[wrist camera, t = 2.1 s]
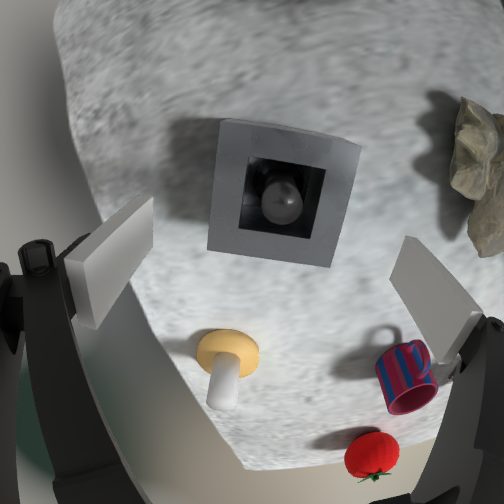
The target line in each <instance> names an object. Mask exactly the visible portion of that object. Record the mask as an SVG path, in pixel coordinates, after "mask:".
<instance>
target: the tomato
mask: <svg viewBox="0 0 504 504" xmlns="http://www.w3.org/2000/svg"><path fill="white" fill-rule="evenodd" d="M398 458H399V445H398V442H397V441H396V440H395V439H394V438H393V437H392V436H391V435H389V434H387V433H383V432H371V433H367V434H364V435H362V436H360V437H359V438H357V439H356V440H354V441H353V442H352V443H351V444H350V446H349V447H348V449H347V450H346V453H345V457H344V462H345V465H346V468H347V470H348V472H349V473H350V474H352V475H353V476H354V477H357V478H365V479H363V480H362V481H364V480H366V479H369V478H371V479H372V480H373V481H374V482H375V481H376V480H378V479H379V475H388V474H390V473H385V472H387V471H388V470H390V469H391V468H392V467H393V466H395V465H396V462H397V460H398ZM362 481H360V482H362ZM358 483H359V482H358Z"/></svg>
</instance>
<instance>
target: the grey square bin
mask: <svg viewBox="0 0 504 504" xmlns="http://www.w3.org/2000/svg"><path fill="white" fill-rule="evenodd" d="M361 148H362V147H361V146H359V145H357V144H355V143H352V142H350V141H348V140H345V139H343V138H339V137H335V136H331V135H326V134H321V133H317V132H312V131H307V130H302V129H297V128H291V127H286V126H280V125H274V124H267V123H261V122H254V121H246V120H238V119H226V120H222V121H220V128H219V136H218V144H217V152H216V161H215V170H214V179H213V189H212V199H211V209H210V220H209V231H208V243H207V250H210V251H217V252H223V253H230V254H237V255H244V256H251V257H258V258H265V259H272V260H279V261H286V262H293V263H300V264H307V265H314V266H321V267H328V268H330V266H331V262H332V259H333V256H334V252H335V249H336V246H337V242H338V239H339V235H340V232H341V228H342V225H343V221H344V217H345V214H346V210H347V206H348V202H349V198H350V194H351V190H352V186H353V182H354V178H355V174H356V170H357V166H358V161H359V157H360V152H361ZM250 156H252V157H259V158H266V159H272V160H278V161H284V162H290V163H296V164H301V165H307V166H312V168H311V173H310V178H309V183H308V188H307V193H306V197H305V202H304V207H303V211H302V214H300V215H299V217H298V218H297V219H296V220H295V221H293V222H291V223H289V224H284V225H280V224H275V223H273V222H271V221H269V220H268V219H267V218H266V217H265V215H264V213H263V211H262V207H255V206H248V205H243V202H244V195H245V188H246V181H247V174H248V167H249V160H250Z"/></svg>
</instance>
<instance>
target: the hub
mask: <svg viewBox="0 0 504 504" xmlns="http://www.w3.org/2000/svg"><path fill="white" fill-rule="evenodd" d="M196 357H197V361H198V363H199V365H200V366H201V367H202V368H203V369H204V370H205V371H206V372H208V373H210V374H211V377H210V383H209V389H208V394H207V400H206V403H207V405H208V406H209V407H210V408H212V409H214V410H217V411H231V410H233V409H235V408H236V405H237V394H238V384H239V378H242V377H245V376H248V375H250V374H251V373H253V372H254V371H255V370H256V368H257V366H258V362H259V349H258V346H257V344H256V342H255V341H254V340H253V339H252V338H251V337H249V336H248V335H246V334H244V333H242V332H239V331H235V330H229V329H221V330H215V331H211V332H209V333H207V334H206V335H204V336H203V337H202V339H201V340H200V342H199V346H198V350H197V355H196Z"/></svg>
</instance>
